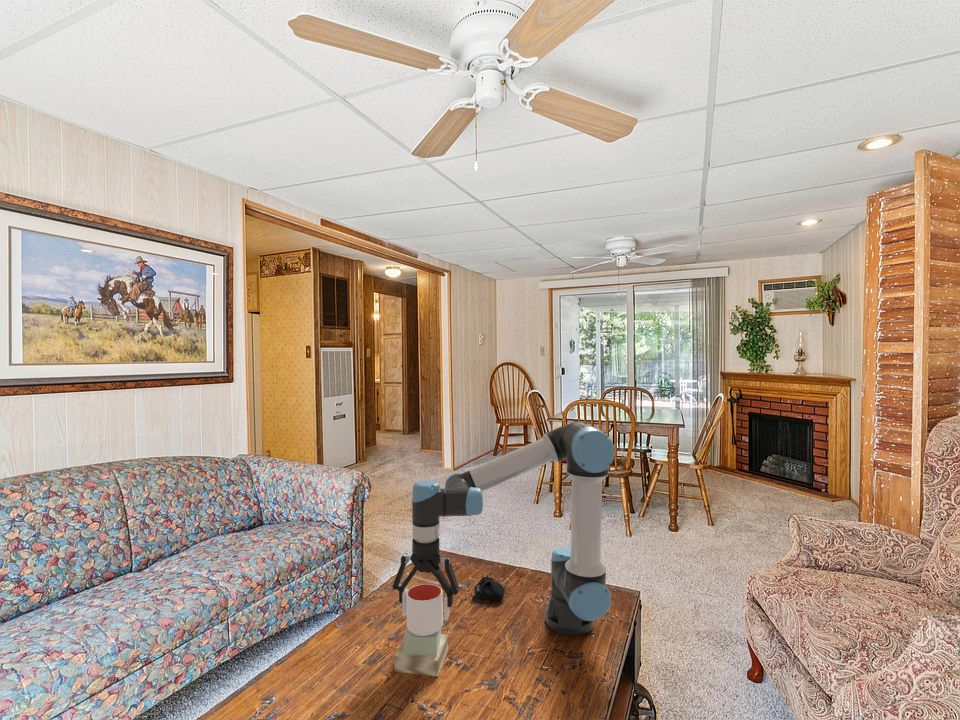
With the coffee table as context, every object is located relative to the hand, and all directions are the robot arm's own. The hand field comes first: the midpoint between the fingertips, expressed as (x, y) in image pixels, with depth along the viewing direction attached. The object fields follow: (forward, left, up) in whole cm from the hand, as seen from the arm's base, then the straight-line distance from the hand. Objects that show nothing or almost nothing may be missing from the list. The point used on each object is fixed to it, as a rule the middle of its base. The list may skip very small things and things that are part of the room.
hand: (425, 615), depth 135 cm
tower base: (+1, 0, -13) cm, 13 cm away
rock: (-13, -38, -13) cm, 42 cm away
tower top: (+1, 0, -8) cm, 8 cm away
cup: (0, 0, -3) cm, 4 cm away
